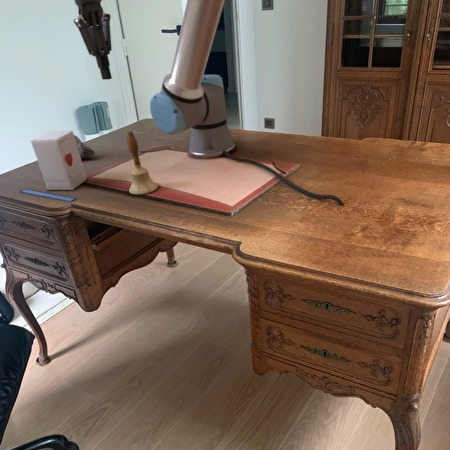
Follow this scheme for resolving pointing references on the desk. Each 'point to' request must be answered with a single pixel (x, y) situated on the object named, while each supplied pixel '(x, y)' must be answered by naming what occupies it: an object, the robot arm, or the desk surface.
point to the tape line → (48, 195)
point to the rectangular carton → (59, 160)
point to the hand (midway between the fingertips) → (107, 78)
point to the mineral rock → (83, 148)
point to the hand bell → (139, 171)
